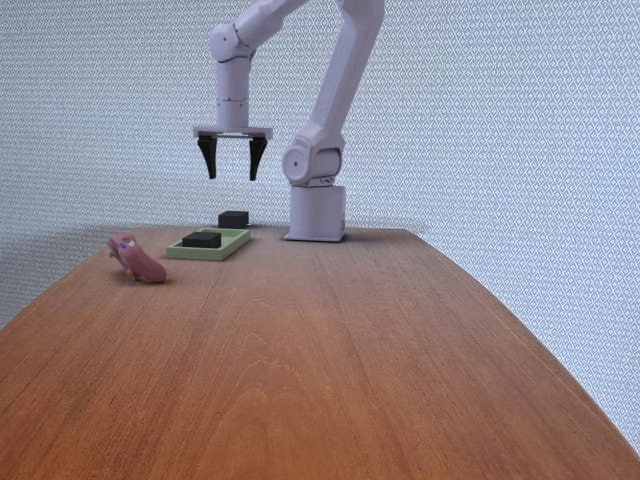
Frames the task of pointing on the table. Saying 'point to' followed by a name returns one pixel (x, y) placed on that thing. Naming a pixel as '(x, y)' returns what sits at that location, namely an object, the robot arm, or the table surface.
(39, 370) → the table surface
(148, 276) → the video game controller
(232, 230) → the holder
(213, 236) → the pad seated
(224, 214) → the pad loose
